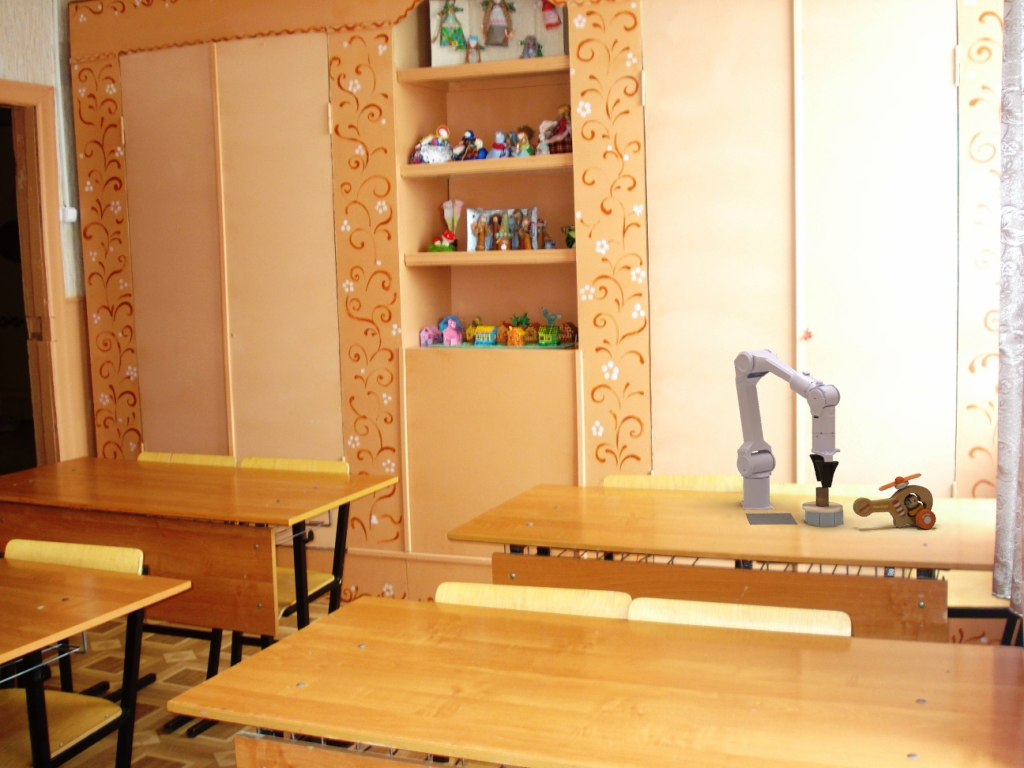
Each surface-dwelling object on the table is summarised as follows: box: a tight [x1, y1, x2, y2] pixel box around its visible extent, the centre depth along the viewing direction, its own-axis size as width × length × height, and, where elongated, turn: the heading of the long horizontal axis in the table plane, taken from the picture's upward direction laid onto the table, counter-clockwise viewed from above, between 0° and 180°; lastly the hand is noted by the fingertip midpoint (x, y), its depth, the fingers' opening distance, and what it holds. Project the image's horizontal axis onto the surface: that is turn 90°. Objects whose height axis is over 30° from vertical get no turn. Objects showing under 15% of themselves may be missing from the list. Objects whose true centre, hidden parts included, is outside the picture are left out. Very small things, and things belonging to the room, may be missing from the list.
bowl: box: [804, 509, 844, 528], centre depth 257 cm, size 9×9×4 cm
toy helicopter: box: [852, 473, 937, 530], centre depth 250 cm, size 8×21×14 cm, turn 98°
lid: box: [801, 486, 844, 513], centre depth 256 cm, size 10×10×5 cm
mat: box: [745, 512, 798, 526], centre depth 263 cm, size 12×12×1 cm
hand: (823, 484), depth 256 cm, fingers open, 7 cm apart
